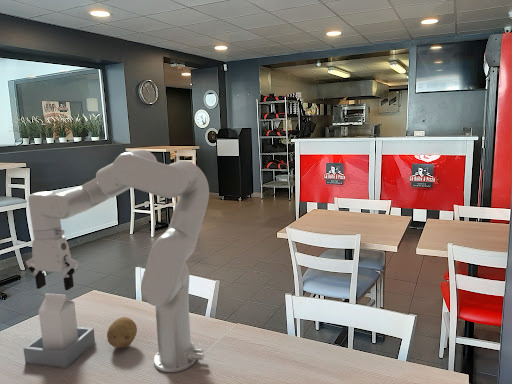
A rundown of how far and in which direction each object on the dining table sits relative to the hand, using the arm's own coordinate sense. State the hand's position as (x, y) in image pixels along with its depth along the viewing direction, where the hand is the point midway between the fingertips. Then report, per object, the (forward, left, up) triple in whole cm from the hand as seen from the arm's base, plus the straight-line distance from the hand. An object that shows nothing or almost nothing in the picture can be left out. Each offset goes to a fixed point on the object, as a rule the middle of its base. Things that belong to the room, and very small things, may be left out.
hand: (55, 287), depth 120 cm
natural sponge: (-18, -5, -22) cm, 29 cm away
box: (0, 0, -22) cm, 22 cm away
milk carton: (0, 0, -21) cm, 21 cm away
